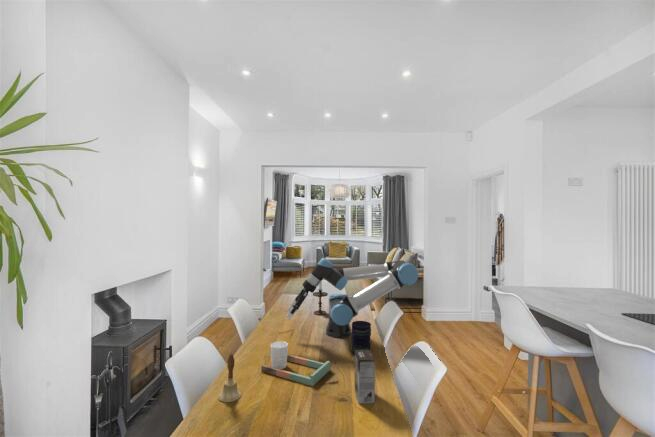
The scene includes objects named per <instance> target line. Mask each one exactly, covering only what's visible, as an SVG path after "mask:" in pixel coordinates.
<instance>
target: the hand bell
mask: <svg viewBox="0 0 655 437" xmlns="http://www.w3.org/2000/svg"><path fill="white" fill-rule="evenodd" d="M226 366H227V370H228V375H227V376H228V378H227V380H226V381H224V384H223V389H222V391H221V393H219V395H218V400H219V401H220V402H222V403H232V402H236V401H238V400H239V399H240V398H241V396H242V392H241V391H240V390H239V388H238V386H237V380H236V379H233V378H234V376H233V375H234V373H233V372H234V368H235V357H234V354H233V353H229V355H228V359H227V364H226Z"/></svg>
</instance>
